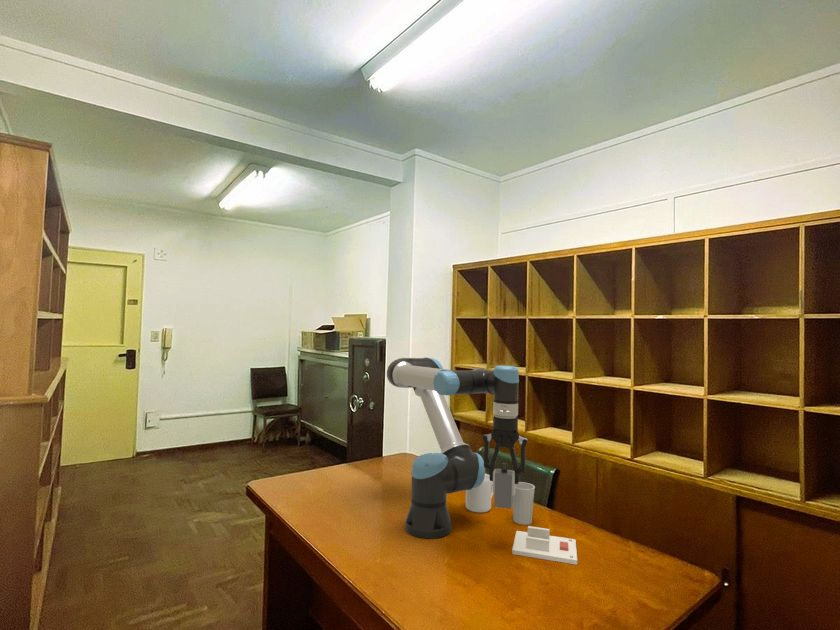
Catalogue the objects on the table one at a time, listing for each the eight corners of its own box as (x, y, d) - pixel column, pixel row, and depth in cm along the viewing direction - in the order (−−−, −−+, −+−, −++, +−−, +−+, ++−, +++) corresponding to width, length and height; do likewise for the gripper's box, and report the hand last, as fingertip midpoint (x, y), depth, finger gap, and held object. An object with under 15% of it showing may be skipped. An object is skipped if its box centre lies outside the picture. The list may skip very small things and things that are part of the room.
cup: (534, 526, 151) (535, 490, 152) (510, 524, 153) (511, 488, 153) (533, 517, 159) (534, 483, 159) (510, 515, 160) (511, 481, 161)
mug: (460, 508, 166) (460, 476, 166) (478, 500, 175) (479, 469, 175) (481, 515, 160) (482, 482, 160) (499, 506, 168) (500, 475, 169)
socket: (512, 554, 131) (512, 539, 131) (516, 534, 145) (516, 521, 145) (577, 564, 126) (577, 549, 126) (575, 543, 139) (575, 529, 139)
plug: (494, 506, 135) (495, 464, 136) (496, 500, 140) (497, 460, 140) (510, 509, 134) (512, 466, 134) (512, 503, 138) (513, 462, 139)
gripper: (474, 415, 137) (472, 493, 136) (535, 420, 132) (533, 501, 131) (478, 412, 144) (476, 485, 143) (536, 416, 139) (534, 492, 138)
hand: (503, 492), depth 137 cm, fingers closed on plug, 5 cm apart
